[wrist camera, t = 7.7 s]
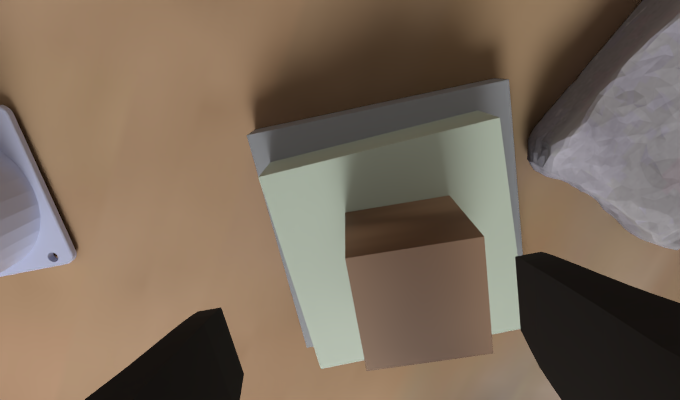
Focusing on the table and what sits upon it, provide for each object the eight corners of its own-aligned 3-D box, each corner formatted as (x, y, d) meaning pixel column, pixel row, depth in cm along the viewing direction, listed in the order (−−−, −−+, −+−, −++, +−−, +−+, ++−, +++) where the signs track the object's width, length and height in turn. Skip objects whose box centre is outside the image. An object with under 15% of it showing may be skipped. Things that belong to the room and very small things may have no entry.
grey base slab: (311, 318, 23) (306, 347, 21) (259, 126, 20) (246, 135, 17) (507, 284, 22) (527, 310, 20) (488, 77, 19) (508, 79, 16)
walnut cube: (361, 302, 17) (366, 370, 13) (345, 212, 16) (345, 258, 12) (458, 288, 16) (493, 353, 13) (449, 195, 15) (484, 236, 11)
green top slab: (323, 333, 20) (320, 368, 18) (269, 162, 18) (258, 177, 15) (504, 295, 19) (527, 327, 17) (477, 110, 17) (499, 117, 14)
